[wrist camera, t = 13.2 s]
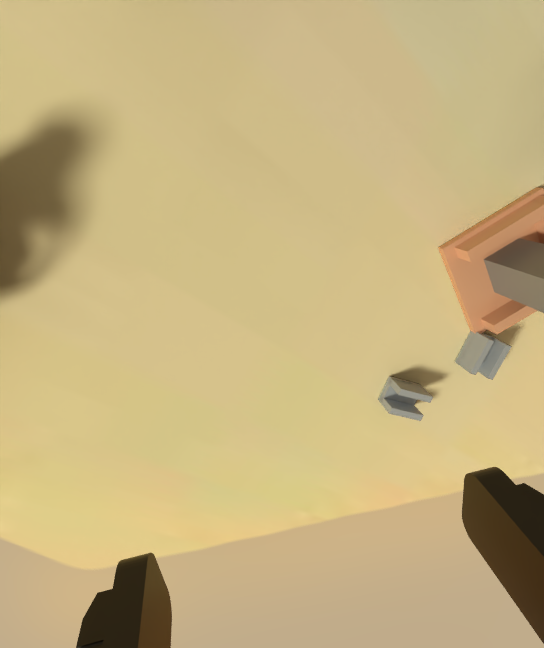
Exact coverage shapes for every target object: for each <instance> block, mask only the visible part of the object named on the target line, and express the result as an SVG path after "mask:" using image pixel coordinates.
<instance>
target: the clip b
mask: <svg viewBox="0 0 544 648" xmlns="http://www.w3.org/2000/svg"><path fill="white" fill-rule="evenodd" d="M510 348H511V346H510V345H508V344H506V343H504V342H503V341H501V340H499V339H497V338H496V337H494V336H491V335H488V334H485V333H478V332H476V334H475V333H473V332H470V334H469V335H468V337H467V339H466V341H465V343H464V345H463V347H462V349H461V351H460V352H459V354H458V356H457V358H456V360H455V362H456V363H457V364H459V365H460V366H461V367H463V368H464V369H465V370H467V371H468V372H469V373H471V374H474V375H476V373H477V372H480V373H481V374H482V375H484V376H485V377H486V378H488V379H492V380H493V378H494V376H495V375H496V373H497V371H498V369H499V368H500V366H501V364H502V362H503V361H504V359H505V357H506V355H507V354H508V352H509V350H510Z"/></svg>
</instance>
